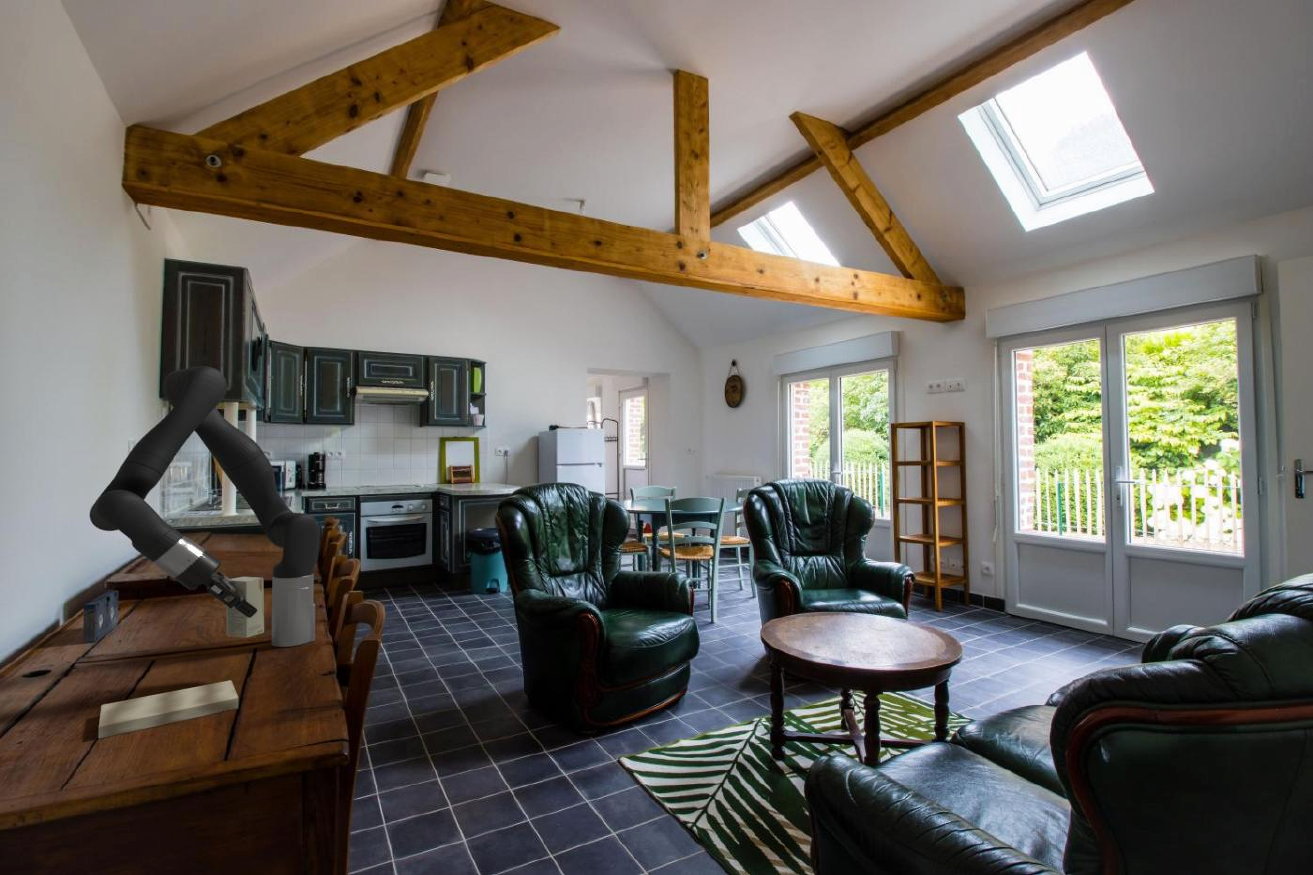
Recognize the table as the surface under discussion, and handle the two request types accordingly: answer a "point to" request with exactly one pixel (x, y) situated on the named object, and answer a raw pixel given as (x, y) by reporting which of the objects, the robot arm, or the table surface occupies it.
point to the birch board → (166, 708)
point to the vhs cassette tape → (100, 616)
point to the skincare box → (254, 595)
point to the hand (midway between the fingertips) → (253, 610)
